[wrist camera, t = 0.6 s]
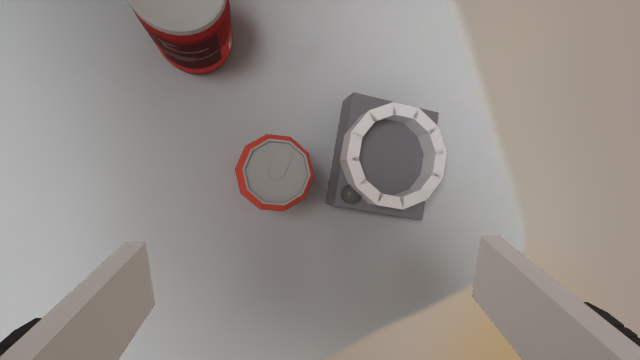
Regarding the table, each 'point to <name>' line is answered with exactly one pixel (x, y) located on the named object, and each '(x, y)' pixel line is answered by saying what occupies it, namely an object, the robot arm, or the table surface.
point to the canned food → (188, 31)
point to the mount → (385, 157)
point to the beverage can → (274, 172)
